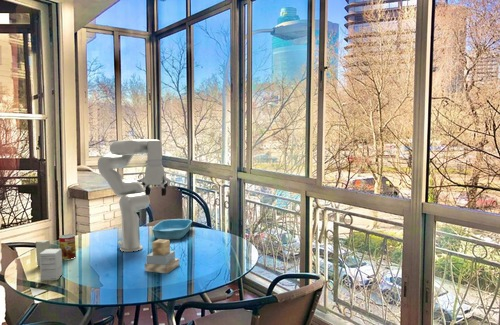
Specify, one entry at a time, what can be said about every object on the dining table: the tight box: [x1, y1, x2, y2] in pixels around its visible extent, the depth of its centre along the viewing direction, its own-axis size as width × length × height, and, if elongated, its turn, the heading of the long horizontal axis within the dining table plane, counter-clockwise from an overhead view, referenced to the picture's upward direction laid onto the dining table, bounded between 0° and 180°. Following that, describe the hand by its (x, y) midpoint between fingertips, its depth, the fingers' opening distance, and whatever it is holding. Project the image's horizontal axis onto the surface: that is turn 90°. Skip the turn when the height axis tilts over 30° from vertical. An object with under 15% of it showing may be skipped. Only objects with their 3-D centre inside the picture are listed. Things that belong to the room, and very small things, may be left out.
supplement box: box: [39, 248, 64, 282], centre depth 184 cm, size 7×7×13 cm
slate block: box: [146, 250, 176, 265], centre depth 196 cm, size 10×10×4 cm
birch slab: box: [144, 257, 180, 274], centre depth 196 cm, size 12×12×4 cm
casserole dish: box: [151, 218, 193, 240], centre depth 262 cm, size 37×22×7 cm, turn 178°
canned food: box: [58, 233, 77, 260], centre depth 213 cm, size 8×8×12 cm
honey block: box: [151, 239, 171, 255], centre depth 195 cm, size 6×6×6 cm
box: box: [35, 239, 51, 267], centre depth 201 cm, size 5×4×13 cm
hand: (155, 195), depth 212 cm, fingers open, 9 cm apart
